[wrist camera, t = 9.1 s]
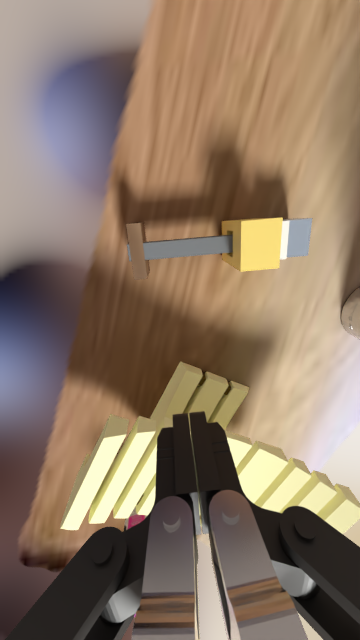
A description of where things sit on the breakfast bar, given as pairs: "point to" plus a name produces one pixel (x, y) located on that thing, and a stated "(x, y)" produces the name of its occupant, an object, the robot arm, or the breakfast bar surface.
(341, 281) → the breakfast bar surface
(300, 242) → the block
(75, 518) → the slatted curved stool
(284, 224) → the pale beige end plate
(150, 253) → the grey slider rail
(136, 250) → the tan flat end block
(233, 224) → the yellow sliding collar
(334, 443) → the breakfast bar surface
